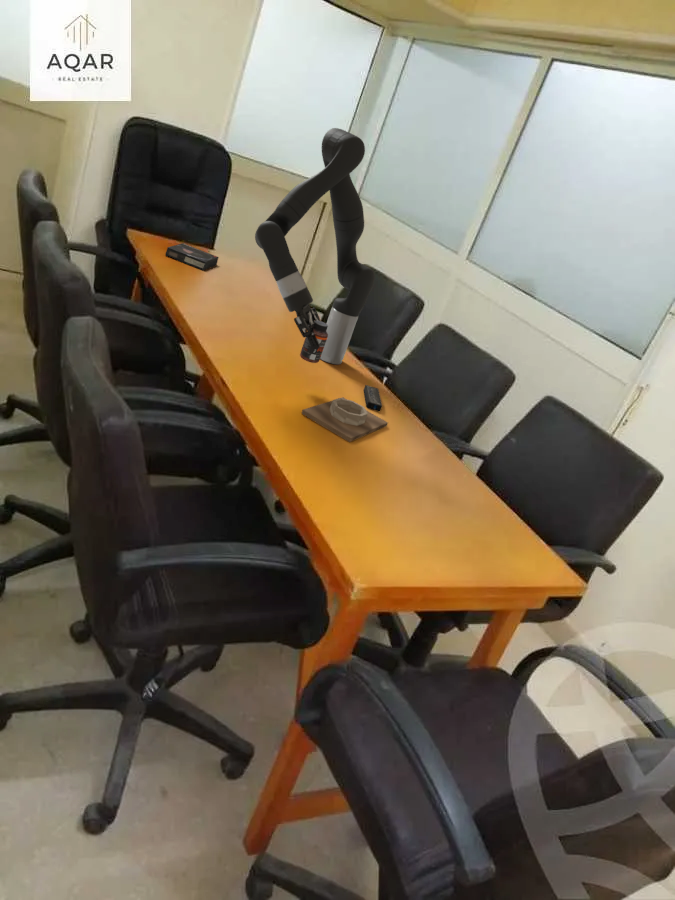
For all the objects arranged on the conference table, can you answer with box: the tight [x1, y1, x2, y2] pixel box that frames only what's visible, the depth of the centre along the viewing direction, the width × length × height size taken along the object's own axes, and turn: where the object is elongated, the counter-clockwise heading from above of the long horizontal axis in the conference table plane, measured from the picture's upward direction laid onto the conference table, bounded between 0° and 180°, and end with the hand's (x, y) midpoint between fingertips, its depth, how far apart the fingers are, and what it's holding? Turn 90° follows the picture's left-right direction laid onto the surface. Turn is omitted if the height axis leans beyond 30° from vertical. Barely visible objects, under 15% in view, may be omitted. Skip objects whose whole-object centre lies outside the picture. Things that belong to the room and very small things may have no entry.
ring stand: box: [301, 396, 389, 443], centre depth 189 cm, size 22×16×4 cm
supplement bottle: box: [299, 320, 328, 364], centre depth 196 cm, size 6×6×11 cm
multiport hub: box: [363, 384, 383, 413], centre depth 210 cm, size 4×14×2 cm, turn 3°
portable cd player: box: [164, 242, 219, 271], centre depth 284 cm, size 16×17×4 cm
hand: (319, 345), depth 196 cm, fingers closed on supplement bottle, 6 cm apart
